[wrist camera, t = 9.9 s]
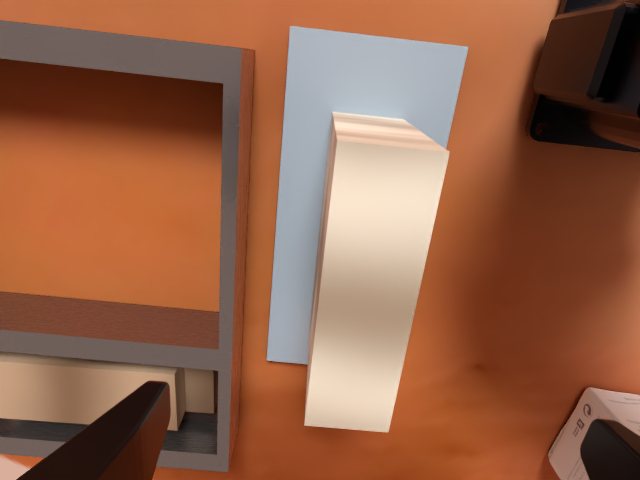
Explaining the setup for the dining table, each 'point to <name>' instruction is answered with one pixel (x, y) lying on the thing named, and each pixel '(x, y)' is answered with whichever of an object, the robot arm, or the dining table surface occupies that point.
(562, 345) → the dining table surface
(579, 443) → the skincare box
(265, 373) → the dining table surface
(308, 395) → the beige wooden block
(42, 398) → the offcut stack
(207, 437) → the rack
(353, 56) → the mat
